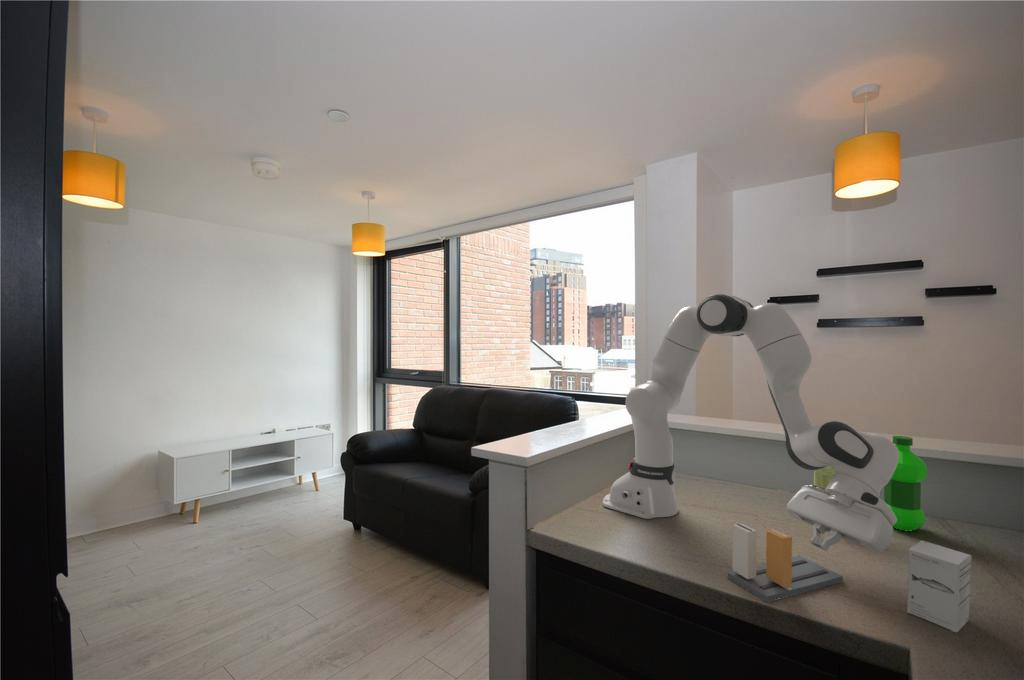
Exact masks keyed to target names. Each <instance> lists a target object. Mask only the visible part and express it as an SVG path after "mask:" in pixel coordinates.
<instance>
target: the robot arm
mask: <svg viewBox="0 0 1024 680" xmlns="http://www.w3.org/2000/svg"><path fill="white" fill-rule="evenodd" d="M713 335H718V336H722V337H741V336H744V335H745V336H747V338H748V339H749V341H750V342H751V343H752V345H753V348H754V350H755V352H756V354H757V355H758V358H759V360H760V362H761V365H762V367H763V370H764V373H765V376H766V383H767V387H768V390H769V393H770V397H771V399H772V401H773V404H774V408H775V410H776V411H777V414H778V417H779V419H780V423H781V425H782V428H783V431H784V435H785V437H784V438H785V447H786V448H785V449H786V451H787V454H788V456H789V458H790V459H791V461H793V462H794V464H796V465H797V466H798V467H800V468H803V469H804V470H809V471H814V470H818V469H821V468H824V467H827V466H831V467H833V468H834V471H835V473H834V474H835V475H834V477H833V478H832V480H831V481H830V483H829V484H828V486H827V487H826V489H824V488H821V487H817V486H815V485H814V484H809V485H807V484H806V485H803V486H802V487H801V488H800V489H799V491H797V492H796V493H795V494H794V496H792V498H791V499H790V500H789V501H788V503H787V505H786V509H787V511H788V513H789V514H790V515H791V516H792V517H793V518H794V519H796V520H799V521H800V522H801V521H802V522H804V523H806V524H809V525H811V526H812V536H811V539H810V541H809V542H810V543H811V545H812V546H814V547H816V548H818V549H821V550H823V551H824V552H827V551H828V549H829V548H830V547H831V546H833V545H835V544H837V543H839V542H840V543H841V540H842V539H844V540H846V541H849V542H851V543H854V544H856V545H859V546H861V547H863V548H865V549H868V550H871V551H873V552H876V553H879V552H883V551H885V550H886V549H887V547H888V545H889V543H890V542H891V539H892V536H893V534H894V528H893V527H892V526H891V525H894V524H895V523H896V522H897V518H896V516H895V514H894V513H893V511H892V510H891V508H890V507H889V506H888V505H887V504H886V502H885V501H884V499H882V498H881V497H880V495H881V491H882V490H883V488H884V486H886V485H887V484H888V482H889V480H890V479H891V477H892V475H893V473H894V471H895V469H896V467H897V465H898V461H899V451H898V449H897V447H896V446H895V444H894V443H893V441H891V440H890V439H888V438H887V437H886V436H884V435H882V434H878V433H875V432H863V431H861V430H857V429H854V428H852V427H851V426H849V425H848V424H846V423H844V422H841V421H837V420H835V421H828V422H823V423H821V424H820V423H819V424H816V425H815V426H814V425H813V424H812V423H811V421H810V418H809V416H808V413H807V411H806V409H805V407H804V404H803V402H802V399H801V396H800V395H801V394H800V386H801V383H802V381H803V379H804V378H805V377H804V376H805V375H806V373H807V372H808V371H809V368H810V366H811V364H812V353H811V351H810V350H811V349H810V347H809V344H808V343H807V340H806V338H805V337H804V335H803V334H802V332H801V330H800V329H799V327H798V325H797V324H796V322H795V321H794V320H793V318H792V316H790V315H789V313H788V312H787V311H786V309H785V308H784V307H783V306H782V305H780V304H778V303H776V302H767V303H766V302H765V303H761V304H758V305H757V306H754V305H752V304H751V303H750V302H748V301H747V300H745V299H742V298H740V297H737V296H734V295H727V294H721V293H719V294H711V295H709V296H707V297H705V298H704V299H703V300H701V301H700V303H699V304H698V307H696V306H684V307H683V308H680V310H679V311H678V312H677V314H676V315H675V316H674V317H673V319H672V320H671V322H670V324H669V325H668V327H667V329H666V331H665V333H664V335H663V337H662V338H661V341H660V342H659V343H660V344H659V345H658V347H657V348H656V351H655V354H654V356H653V359H652V367H651V372H650V375H649V377H648V379H647V381H646V382H645V383H640V384H638V385H636V386H635V387H633V388H632V389H631V390H630V391H629V392H628V394H627V395H626V397H625V403H624V404H625V408H626V410H627V412H628V414H629V415H630V418H631V422H632V426H633V432H634V442H635V443H634V444H635V445H634V451H635V455H634V456H635V457H633V458H631V460H630V461H629V462H628V464H627V469H628V472H627V473H625V474H623V475H622V476H620V477H619V478H617V479H616V480H615V481H614V482H613V483H612V484H611V485H612V486H611V488H610V492H609V493H608V494H606V495H605V496H604V497H603V499H602V506H603V507H605V508H608V509H612V510H614V511H617V512H621V513H625V514H628V515H632V516H634V517H638V518H642V519H645V520H650V519H655V518H667V517H673V516H675V515H677V514H678V512H679V507H678V504H677V500H676V495H675V493H676V492H675V487H674V485H675V481H676V477H675V476H676V470H675V464H674V457H673V456H674V445H673V444H674V438H673V436H672V434H671V431H670V425H669V422H668V421H669V420H668V415H669V414H671V413H672V412H673V411H675V410H676V409H677V407H678V406H679V404H680V401H681V397H682V395H683V391H684V389H685V386H686V383H687V380H688V377H689V375H690V372H691V370H692V368H693V366H694V365H695V363H696V360H697V358H698V356H699V354H700V352H701V350H702V348H703V346H704V344H705V342H706V341H707V340H708V338H709V337H710V336H713ZM825 532H828V533H829V535H828V536H826V537H824V538H822V537H821V534H822V535H823V534H825Z"/></svg>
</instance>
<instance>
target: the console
mask: <svg viewBox="0 0 1024 680" xmlns="http://www.w3.org/2000/svg"><path fill="white" fill-rule="evenodd" d="M728 577H729V578H730V579H729V578H728ZM727 578H728V579H729V580H731V579H732V580H733V581H732V580H731V581H732V582H734V581H735V582H736V584H737V583H738V584H737V585H739V586H740V585H741V586H740V587H742V586H743V587H744V588H743V587H742V588H743V589H745V588H746V589H748V590H749V591H748V590H747V591H748V592H750V591H751V592H752V593H751V592H750V593H751V594H753V593H754V594H755V596H756V595H757V596H756V597H758V598H759V597H760V598H759V599H761V600H762V599H763V601H764V602H765V601H766V602H765V603H770V602H769V601H771V602H773V601H772V600H775V599H778V598H782V599H784V598H783V597H785V598H787V597H786V596H789V597H791V596H790V595H793V596H796V595H799V593H800V594H803V592H804V593H807V592H810V591H814V590H817V589H821V588H825V587H828V586H832V585H835V584H840V583H843V581H844V580H843V579H844V576H843V575H841V574H840V573H837V572H834V571H833V570H831V569H829V568H827V567H826V566H822V565H821V564H819V563H817V562H815V561H812V560H810V559H808V558H806V557H805V556H802V555H800V554H799V555H795V556H792V585H789V586H786V587H782V586H780V585H779V584H777V583H775V582H773V581H772V580H770V579H768V578H766V562H765V563H761V564H756V577H755V578H751V579H746V578H745V577H743V576H742V575H740V574H738V573H737V572H735V571H733V570H731V571H727ZM735 582H734V583H735ZM746 589H745V590H746ZM754 594H753V595H754ZM795 594H796V595H795ZM778 600H779V599H778ZM775 601H776V600H775Z"/></svg>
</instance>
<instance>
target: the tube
mask: <svg viewBox="0 0 1024 680" xmlns="http://www.w3.org/2000/svg"><path fill="white" fill-rule="evenodd" d="M835 474H836V473H835V469H834V468H833V467H831V466H827V467H824V468H821V469H818V470H813V485H815V486H817V487H821V488H824V489H826V487H827V486H828V484H829V483H830V481H831V480H832V478H833V477H834V475H835Z"/></svg>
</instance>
